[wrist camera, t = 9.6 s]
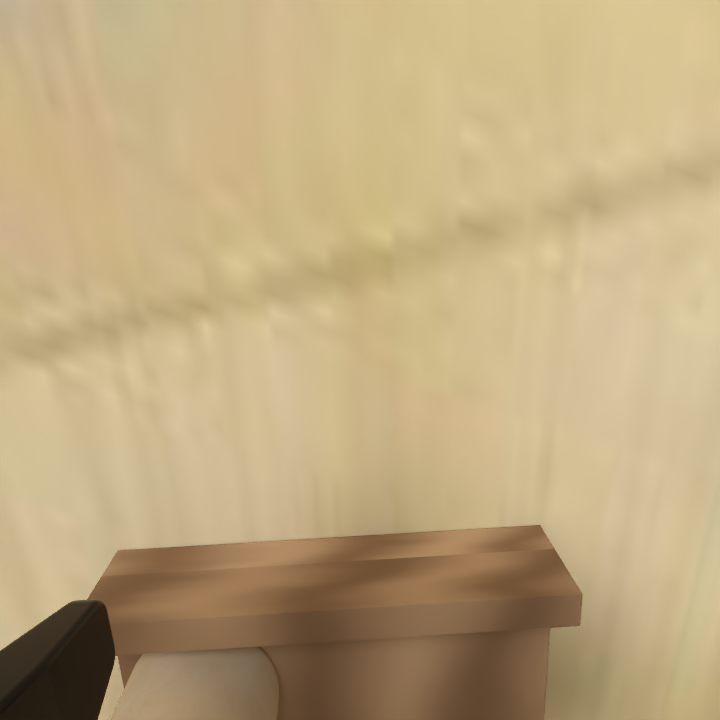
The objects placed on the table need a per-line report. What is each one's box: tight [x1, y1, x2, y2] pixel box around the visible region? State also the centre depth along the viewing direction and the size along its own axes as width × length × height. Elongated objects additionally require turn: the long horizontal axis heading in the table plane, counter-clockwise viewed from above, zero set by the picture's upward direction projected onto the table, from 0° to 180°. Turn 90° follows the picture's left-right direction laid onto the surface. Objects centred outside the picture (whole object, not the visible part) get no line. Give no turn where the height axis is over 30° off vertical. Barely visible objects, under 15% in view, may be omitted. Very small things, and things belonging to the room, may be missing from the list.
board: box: [87, 525, 582, 720], centre depth 21 cm, size 16×9×4 cm, turn 92°
